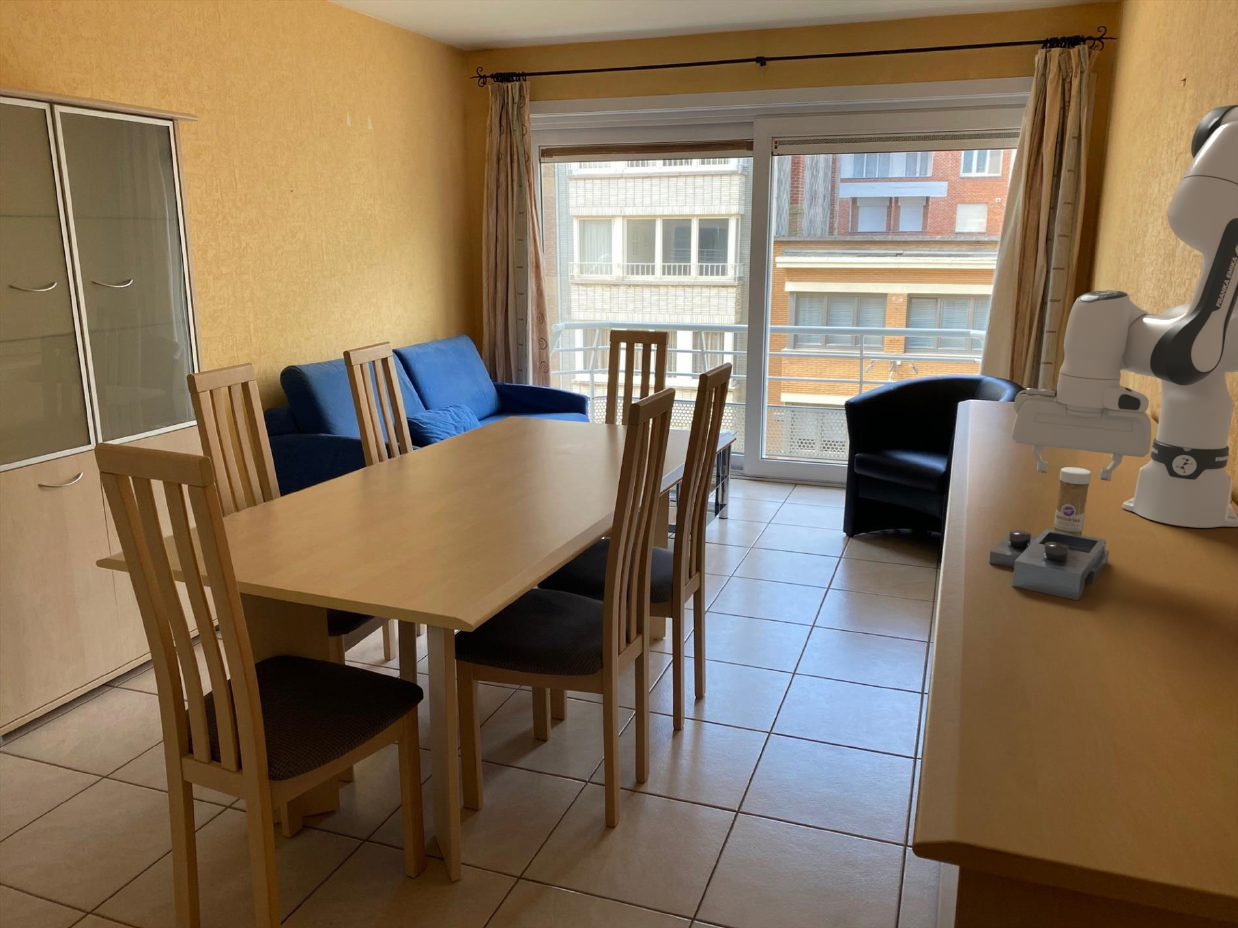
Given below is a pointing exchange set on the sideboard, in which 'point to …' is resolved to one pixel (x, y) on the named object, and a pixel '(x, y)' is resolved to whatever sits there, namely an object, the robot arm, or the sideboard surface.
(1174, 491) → the robot arm
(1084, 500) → the sprinkles bottle
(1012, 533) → the grey knobbed tray
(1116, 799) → the sideboard surface
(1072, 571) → the grey box with knob
